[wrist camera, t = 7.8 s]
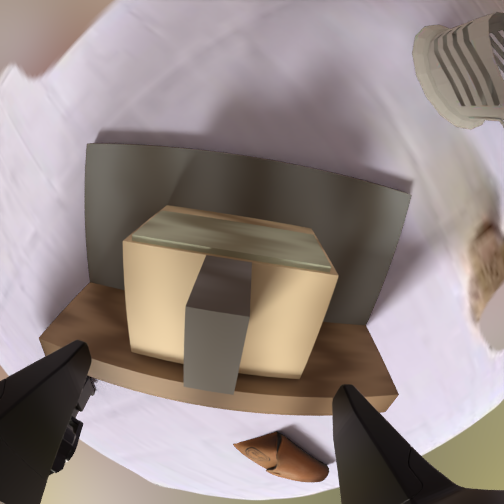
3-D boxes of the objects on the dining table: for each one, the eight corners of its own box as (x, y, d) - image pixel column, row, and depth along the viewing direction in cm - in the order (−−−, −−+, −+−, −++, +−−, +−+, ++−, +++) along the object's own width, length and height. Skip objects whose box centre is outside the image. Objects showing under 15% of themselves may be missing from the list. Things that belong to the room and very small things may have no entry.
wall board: (98, 300, 23) (48, 363, 14) (93, 143, 17) (9, 156, 9) (352, 340, 24) (382, 415, 15) (405, 192, 18) (482, 230, 10)
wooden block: (163, 292, 21) (107, 402, 11) (167, 201, 18) (75, 274, 8) (289, 312, 21) (307, 435, 11) (312, 224, 19) (369, 322, 8)
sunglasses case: (227, 444, 32) (246, 474, 26) (263, 414, 34) (288, 441, 28) (286, 476, 37) (305, 498, 31) (314, 453, 39) (336, 472, 33)
